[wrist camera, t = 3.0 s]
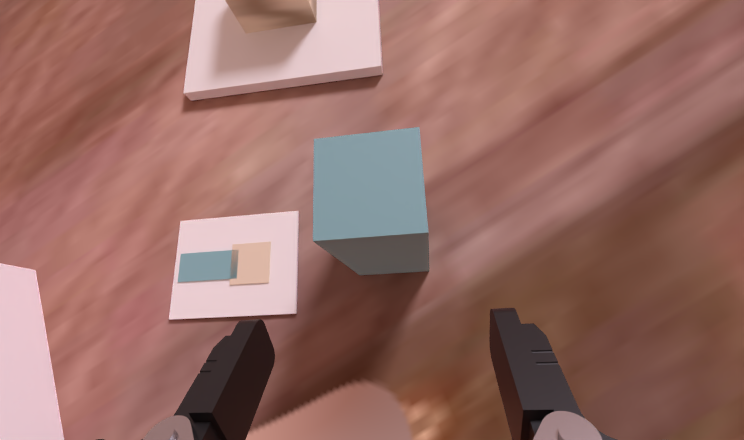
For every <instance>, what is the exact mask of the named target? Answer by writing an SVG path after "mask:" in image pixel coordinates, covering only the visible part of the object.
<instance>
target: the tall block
mask: <svg viewBox="0 0 744 440" xmlns="http://www.w3.org/2000/svg"><path fill="white" fill-rule="evenodd" d="M313 241H314V242H315V243H316V244H318V245H319V246H320V247H322V248H323V249H325V250H326V251H327V252H329V253H330V254H331V255H333V256H334V257H335V258H337V259H338V260H340V261H341V262H342V263H344V264H345V265H346V266H348V267H349V268H350V269H352V270H353V271H355V272H356V273H357V274H359V275H374V274H391V273H408V272H424V271H429V242H428V223H427V211H426V200H425V188H424V176H423V165H422V153H421V141H420V130H419V127H416V128H407V129H398V130H389V131H381V132H372V133H363V134H354V135H346V136H337V137H328V138H319V139H314V190H313Z"/></svg>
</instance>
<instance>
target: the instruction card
mask: <svg viewBox="0 0 744 440" xmlns="http://www.w3.org/2000/svg"><path fill="white" fill-rule="evenodd" d="M298 230H299V211H291V212H279V213H268V214H256V215H245V216H233V217H222V218H210V219H199V220H187V221H181V222H180V231H179V239H178V247H177V256H176V264H175V272H174V281H173V289H172V298H171V306H170V314H169V320H172V319H193V318H215V317H236V316H258V315H279V314H297V276H298Z"/></svg>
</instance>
